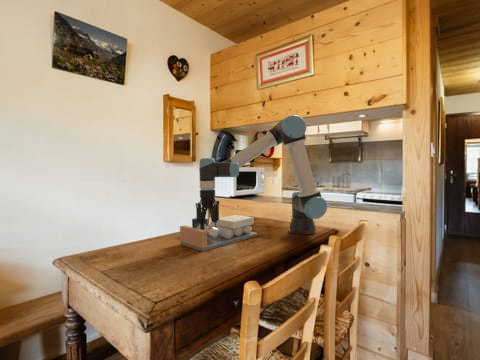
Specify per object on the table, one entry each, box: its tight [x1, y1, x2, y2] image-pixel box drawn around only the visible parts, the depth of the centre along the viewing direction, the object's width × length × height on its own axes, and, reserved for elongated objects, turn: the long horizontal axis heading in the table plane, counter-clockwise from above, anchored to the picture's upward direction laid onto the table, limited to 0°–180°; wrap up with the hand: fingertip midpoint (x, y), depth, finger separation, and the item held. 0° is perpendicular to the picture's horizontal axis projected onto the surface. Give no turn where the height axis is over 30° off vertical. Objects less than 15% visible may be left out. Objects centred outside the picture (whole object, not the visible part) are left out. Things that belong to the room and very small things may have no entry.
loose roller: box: [197, 225, 221, 239], centre depth 134 cm, size 13×5×5 cm, turn 45°
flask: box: [191, 217, 209, 228], centre depth 153 cm, size 9×3×11 cm, turn 88°
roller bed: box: [179, 224, 259, 252], centre depth 140 cm, size 18×38×9 cm, turn 135°
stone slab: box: [216, 214, 255, 229], centre depth 147 cm, size 14×16×4 cm
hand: (208, 235), depth 134 cm, fingers closed on loose roller, 5 cm apart
